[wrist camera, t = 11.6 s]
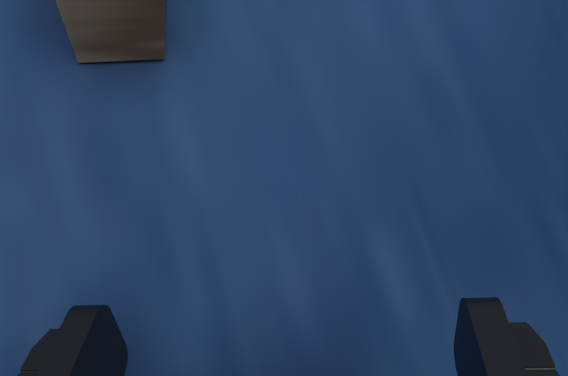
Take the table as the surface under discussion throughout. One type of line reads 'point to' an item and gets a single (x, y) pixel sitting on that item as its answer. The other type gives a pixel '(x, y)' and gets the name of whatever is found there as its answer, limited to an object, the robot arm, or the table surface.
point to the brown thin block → (115, 29)
